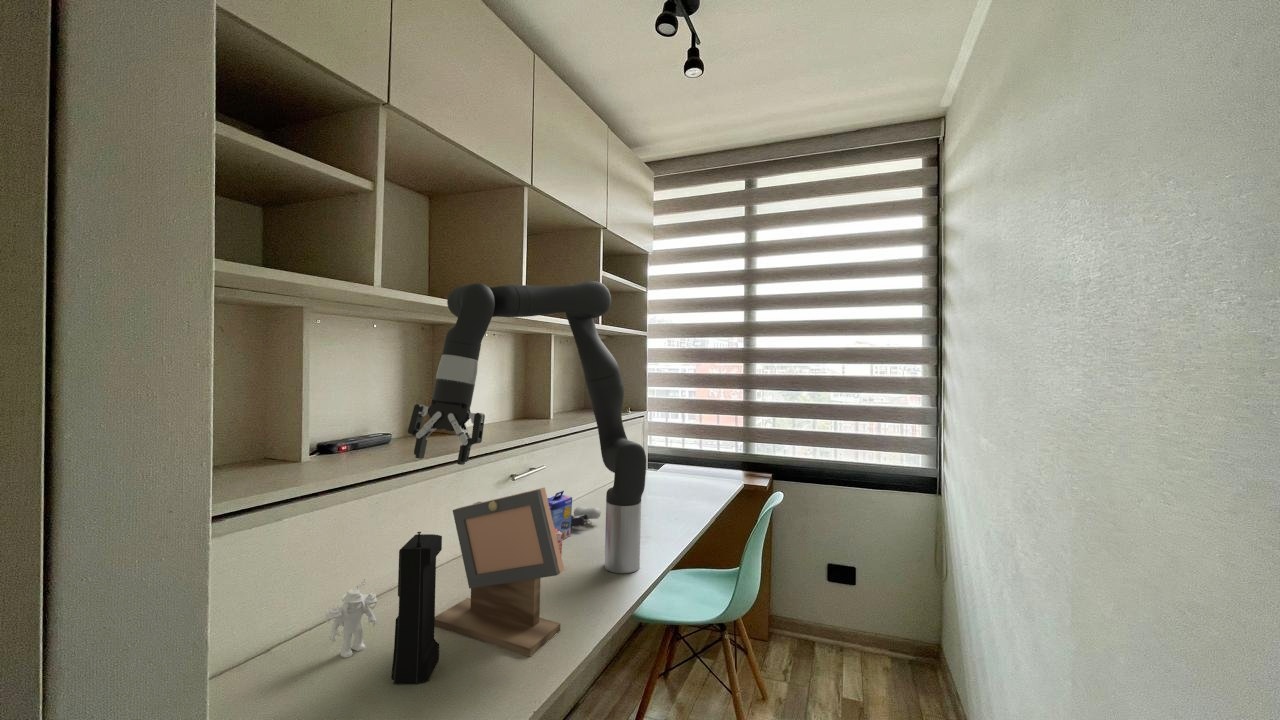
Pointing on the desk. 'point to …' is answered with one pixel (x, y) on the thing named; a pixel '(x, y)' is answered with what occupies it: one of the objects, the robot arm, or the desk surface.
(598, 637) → the desk surface
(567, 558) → the desk surface
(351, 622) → the hat wearing toy figure
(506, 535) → the picture frame
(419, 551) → the portable radio
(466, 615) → the frame stand
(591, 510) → the clip-on lamp
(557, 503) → the ink cartridge box
